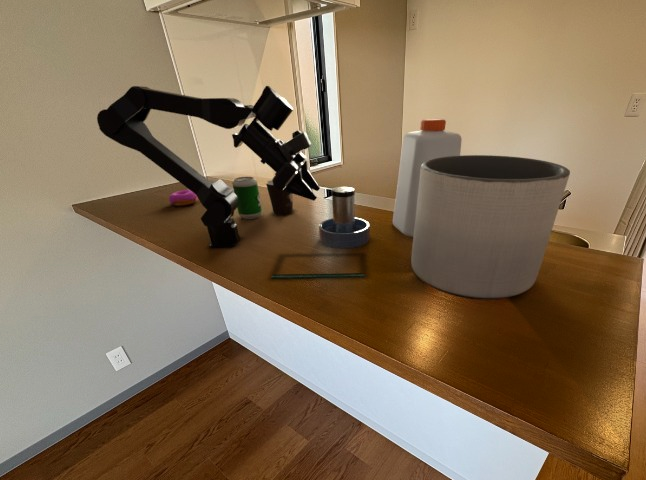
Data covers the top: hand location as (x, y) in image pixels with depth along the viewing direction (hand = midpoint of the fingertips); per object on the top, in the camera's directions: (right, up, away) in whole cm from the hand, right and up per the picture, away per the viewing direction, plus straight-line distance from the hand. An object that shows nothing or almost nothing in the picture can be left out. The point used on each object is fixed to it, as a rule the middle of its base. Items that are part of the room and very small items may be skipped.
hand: (317, 194), depth 80 cm
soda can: (-25, +1, +26) cm, 36 cm away
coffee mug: (-14, +4, +31) cm, 34 cm away
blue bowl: (+7, -11, +7) cm, 14 cm away
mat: (+1, -19, -6) cm, 20 cm away
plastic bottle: (+29, -6, +13) cm, 33 cm away
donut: (-54, +10, +41) cm, 68 cm away
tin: (+7, -10, +6) cm, 14 cm away
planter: (+34, -21, -10) cm, 41 cm away
